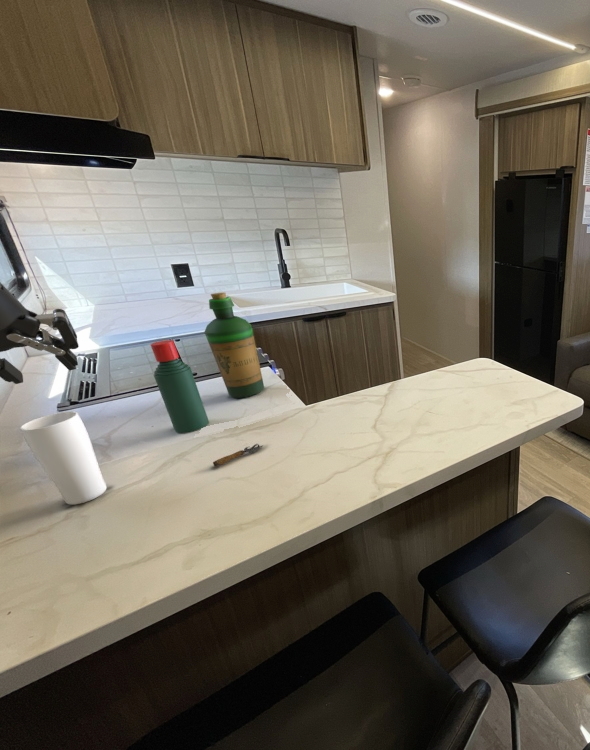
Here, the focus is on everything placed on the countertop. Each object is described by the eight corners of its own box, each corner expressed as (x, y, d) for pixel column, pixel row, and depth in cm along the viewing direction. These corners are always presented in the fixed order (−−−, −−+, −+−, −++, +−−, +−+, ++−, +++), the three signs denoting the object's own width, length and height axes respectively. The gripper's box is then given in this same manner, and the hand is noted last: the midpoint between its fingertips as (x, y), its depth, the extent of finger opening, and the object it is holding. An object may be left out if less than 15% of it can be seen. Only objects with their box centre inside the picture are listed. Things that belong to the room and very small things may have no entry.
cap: (183, 356, 90) (177, 340, 89) (165, 362, 87) (158, 345, 85) (170, 356, 91) (165, 339, 90) (152, 361, 88) (145, 344, 86)
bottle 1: (169, 435, 91) (136, 351, 84) (184, 422, 97) (155, 343, 90) (201, 431, 92) (171, 348, 85) (214, 418, 98) (187, 340, 91)
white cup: (100, 481, 75) (65, 409, 69) (121, 488, 72) (87, 413, 67) (52, 504, 69) (9, 426, 63) (73, 512, 66) (31, 432, 61)
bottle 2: (226, 404, 107) (193, 298, 97) (224, 392, 115) (193, 294, 105) (271, 393, 112) (243, 292, 102) (266, 383, 120) (240, 289, 111)
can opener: (215, 468, 77) (213, 462, 76) (211, 464, 78) (210, 459, 78) (265, 448, 83) (264, 443, 83) (261, 444, 84) (259, 440, 84)
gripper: (-142, 327, 44) (-19, 408, 57) (37, 295, 51) (109, 374, 64) (-135, 284, 47) (-20, 370, 60) (32, 259, 54) (103, 341, 67)
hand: (46, 372), depth 62 cm, fingers open, 5 cm apart
